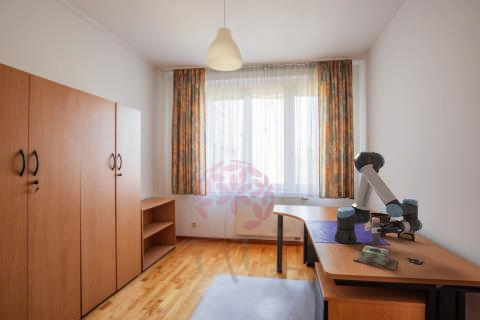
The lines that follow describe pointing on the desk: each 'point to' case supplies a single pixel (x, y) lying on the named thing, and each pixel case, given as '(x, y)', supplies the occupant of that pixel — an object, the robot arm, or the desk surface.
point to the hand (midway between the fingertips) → (368, 229)
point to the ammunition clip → (407, 236)
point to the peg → (375, 235)
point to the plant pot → (381, 219)
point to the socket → (376, 257)
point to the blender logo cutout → (415, 261)
